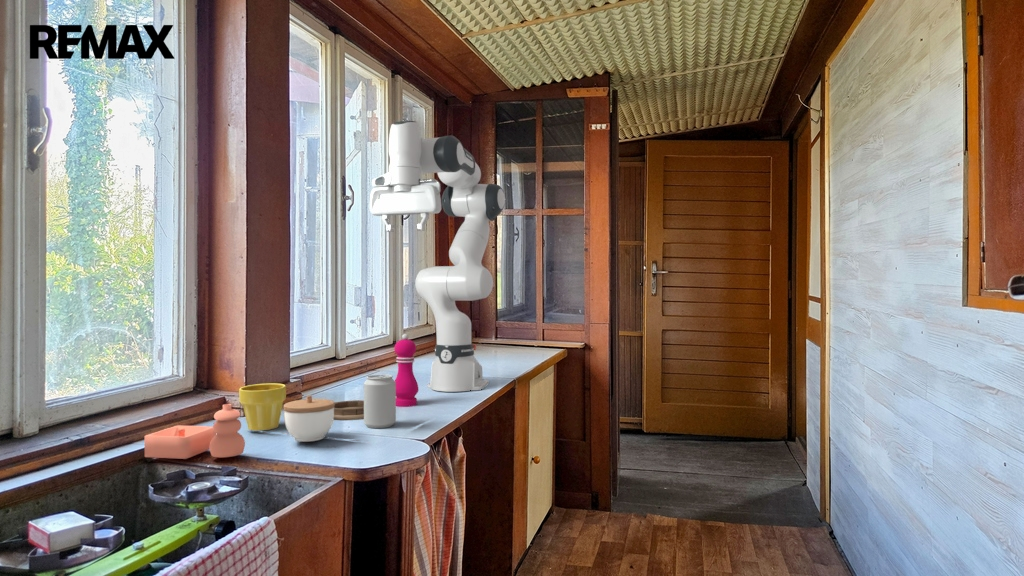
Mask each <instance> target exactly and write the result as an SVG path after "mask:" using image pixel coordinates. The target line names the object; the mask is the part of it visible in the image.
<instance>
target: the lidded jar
mask: <svg viewBox="0 0 1024 576" xmlns="http://www.w3.org/2000/svg"><path fill="white" fill-rule="evenodd" d="M334 407H335V401H334V400H331V399H326V398H313V396H312V395H306V399H299V400H293V401H289V402H285V403H283V405H282V409H283V415H284V416H283V417H284V418H283V419H284V424H285V428H286V430H287V432H288V433H289V435H291V437H293V438H294V440H295V442H296V441H297V442H302V443H303V442H304V443H305V442H315V441H316V442H317V441H320V440H323V439H324V438H325V437H326V435H327V434H328V433H329V432H330V430H331V429H332V426H333V423H334V420H333V419H334Z"/></svg>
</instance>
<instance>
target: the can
mask: <svg viewBox="0 0 1024 576" xmlns="http://www.w3.org/2000/svg"><path fill="white" fill-rule="evenodd" d="M393 377H394V376H393V374H373V375H372V374H371V375H367V376H366V380H365V381H364V382H363V401H364V419H363V423H364V425H365V426H366V427H368V428H370V429H385V428H390V427H393V425H394V424H395V423H396V421H397V415H396V414H397V406H396V382H395V379H393Z"/></svg>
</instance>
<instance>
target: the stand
mask: <svg viewBox="0 0 1024 576" xmlns="http://www.w3.org/2000/svg"><path fill="white" fill-rule="evenodd" d="M334 402H335V401H334ZM334 420H335V421H353V420H354V421H355V420H364V400H363V399H362V400H355V399H354V400H343V401H342V400H341V401H336V402H335V407H334V419H333V421H334Z"/></svg>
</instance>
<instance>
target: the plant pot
mask: <svg viewBox="0 0 1024 576" xmlns="http://www.w3.org/2000/svg"><path fill="white" fill-rule="evenodd" d="M286 386H287V385H285V384H283V383H274V382H273V383H257V384H249V385H245V386H241V387H240V388H239V389H238V394H239V395H238V397H239V398H238V399H239V400H238V401H239V403H240V404H241V405H242V407H243V412H244V416H245V420H246V424H247V425H246V426H247V428H248V430H250V431H251V432H252V431H254V432H255V431H256V432H258V431H259V432H262V431H269V430H275V429H277V428H278V427H279V426H280V425H279V424H280V422H281V421H280V420H281V414H282V409H283V406H284V401H285V400H286V399H287V387H286Z"/></svg>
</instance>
